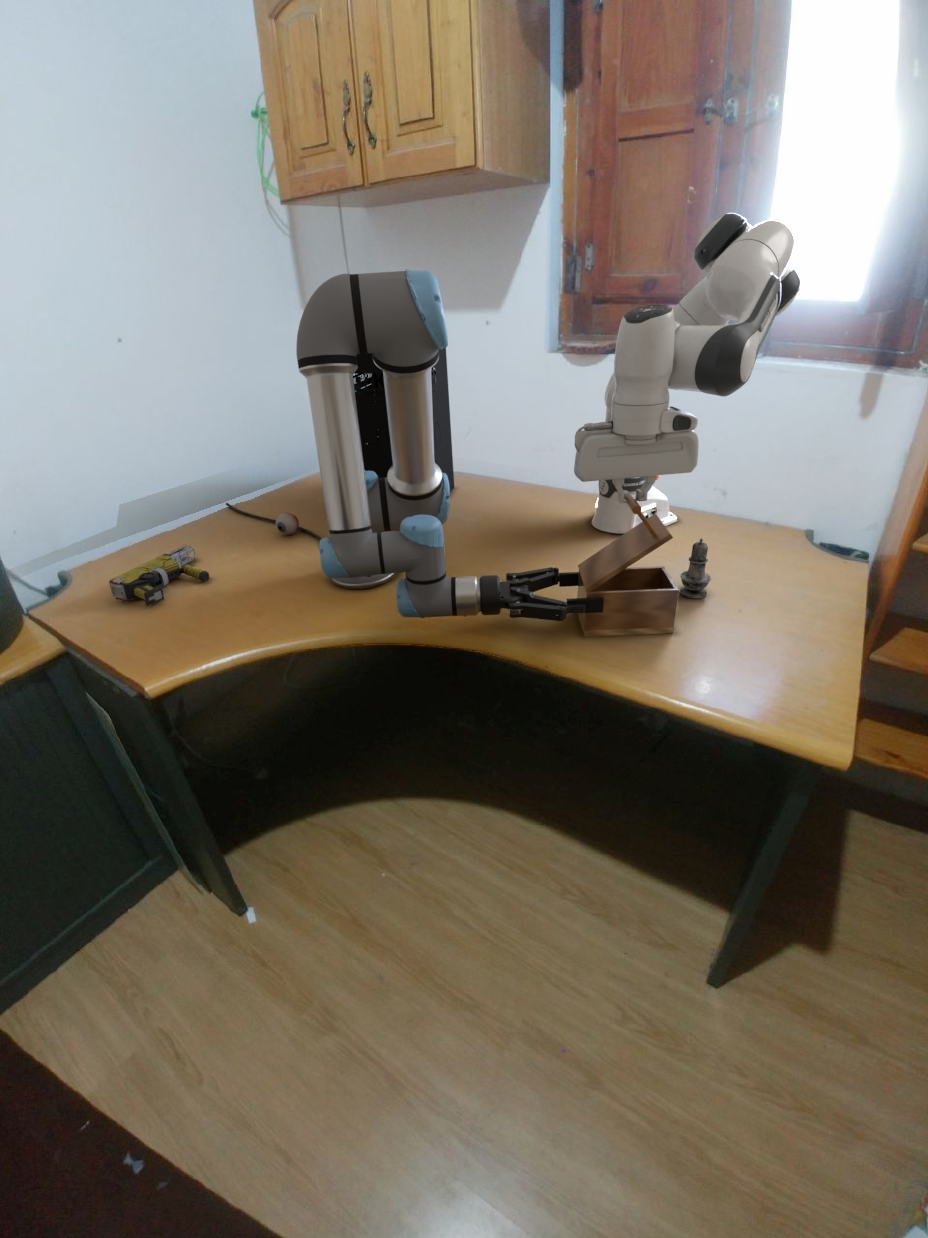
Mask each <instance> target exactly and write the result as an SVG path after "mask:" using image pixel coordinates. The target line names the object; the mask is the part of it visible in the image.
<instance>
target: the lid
mask: <svg viewBox="0 0 928 1238" xmlns="http://www.w3.org/2000/svg"><path fill="white" fill-rule="evenodd" d="M628 499H629V502H627V504H628V506H629V507H630V509H631V510H632V512H633V513H634V514H638V516H639V517H640V519H641V520H642V522H641V523H640V524H638V525H637V526H635V527H634V528H632V529H631V530H629V531H628V532H626V533H625V534H622V535H620V536H619V537H618V538H616V539H615V540H612V541H611V542H610V543H609V544H607V545H606V546H604V547H603V548H601V549H600V550H598V551H597V552H595V553H593V554H591V556H589V557H588V558H586V559H584V560H583V561H581V562H580V563H579V564H578V565H577V569H578V572H579V571H580V574H581V577H582V580H583V583H584V586H585V589H586V590H587V592H588V593H589V592H590V591H592V590H593V589H595V588H596V587H598V586H600V585H601V584H603V583H604V582H606V581H607V580H609V579H610V578H612V577H613V576H615V575H617V574H618V573H620V572H621V571H623V570H624V569H626V568H630V567H631V566H632V565H633V564H635V563H637V562H638V561H640V560H641V559H643V558H645V557H646V556H648V555H650V554H651V553H652V552H654V551H655V550H657V549H658V548H660V547H661V546H663V545H664V544H666V543H668V542H669V541H671V540H672V539H673V538H674V536H673V535H672V534H671V533H670V531H669V530H668V528H667V526H665V525H664V524H663V523H662V521H661V520H660V519H659V517H658V516H657V514H656V513H655V514H653V515H652V516H650V517H649V518H647V519H646V518H645V516H644V515H643V514H642V512H641V511H642V508H641V506H640V505H639V503H638V502H637V500H636V499H635V497H634V496H633V495H632V494H629V498H628Z"/></svg>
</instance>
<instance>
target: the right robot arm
mask: <svg viewBox="0 0 928 1238" xmlns="http://www.w3.org/2000/svg"><path fill="white" fill-rule="evenodd" d="M747 220H748V219H747V218H745V217H743V216H742V215H741V214H738V213H736V212H728V213H725V214H723V216H720V217H718V218H716V219H715V220H714V221H712V222H711V223H710V224H709V225H708V226H707V227H706V228H705V230H704V231H703V232H702V234H701V236H700V238H699V240H698V242H697V244H696V247H695V248H694V256H693V257H694V260H695V263H696V265H698V267H699V269H700V270H701V271H702V270H703V271H704V273H705V274H706V276H705V277H704V278H702V279H701V280H700V281H699V282H698V283H697V284H695V286H693V287H692V288H691V289H690V290H689V291H688V292H687V293H686V294H685V295H684V296H683V297H682V298H681V299H680V301H678V303H677V304H676V305H675V306H674V307H672V306H671V305H666V304H661V303H659V304H658V303H657V304H647V305H642V306H637V307H635V308H632V309H630V310H628V311H627V312H626V313H625V314H623V315H622V318H621V321H620V324H619V327H618V332H617V335H616V344H615V350H614V361H613V372H612V374H611V376H610V377H609V380H608V383H607V385H606V388H605V391H604V403H605V407H606V410H605V421H601V422H595V423H593V422H587V423H585V424H584V425H583V426H581V427H579V428H578V429H577V430H576V432H575V434H574V447H575V449H576V451H575V457H574V465H573V473H574V475H575V477H576V478H577V479H578V480H579V481H581V482H582V483H586V482H598V492H599V493H598V496H597V500H596V503H595V505H594V507H595V511H594V514H593V517H592V520H591V525H592V526H593V527H594V528H595V529H597V530H599V531H601V532H605V533H611V534H622V535H623V534H625V533H626V532H628V531H629V530H631V529H632V528H634V527H635V526H637V525H638V524H640V523H641V522H642V520H641V519H640V517H639V516H638V514H634V513H633V512H632V510H631V509H630V507H629V506H628V504H627V502H629V499H628V498H629V494H632V495H633V496H634V497H635V499H636V500H637V502H638V503H639V505H640V506H641V508H642V511H641V512H642V514H643V515H644V516H645V518H646V519H647V518H649V517H650V516H652V515H653V514H655V513H656V514H657V516H658V517H659V519H660V520H661V521H662V523H663V524H664V525H665V527H668V526H670V525H672V524H675V523H677V522H678V516H677V515H676V514H675V513H674V512H672V511H670V503H669V502H670V501H669V498H668V497H667V496H666V495H665V494H664V493H663V492H661V491H660V490H659V489H658V488H656V487H655V486H654V484H655V483H656V481H658V479H659V478H660V476H666V475H676V474H677V475H679V474H690V473H692V472H693V471H694V470H695V469H696V468H697V466H698V460H699V447H700V446H699V436H698V434H697V432H696V431H694V430H696V429H697V426H698V417H697V416H695V415H694V414H692V413H690V412H688V411H686V410H684V409H681V408H677V407H676V406H670V392H669V390H674V391H685V392H696V393H703V394H707V395H713V396H718V397H728V396H730V395H732V394H734V393H735V392H737V391H738V390H739V389H741V388H742V387H743V386H744V385H745V384H746V383H747V382H748V381H749V380H750V377H751V376H752V373H753V371H754V367H755V364H756V361H757V358H758V355H759V352H760V350H761V347H762V346H763V343H764V341H765V339H766V338H767V336H768V333H769V331H770V329H771V327H772V324H773V323H774V320H775V318H776V317H777V316H780V315H781V314H782V313H784V311H786V310H787V309H788V308H789V307H790V305H792V303H793V302H794V300H795V298H796V296H797V295H798V292H799V291H800V289H801V287H802V286H801V285H802V279H801V277H800V274H799V273H798V270H797V269H796V268H795V267H792V266H791V264H790V263H791V261H792V258H793V256H794V253H795V249H796V240H795V236H794V233H793V231H792V229H791V228H790V227H789V226H788V225H787V224H786V223H785V222H783V221H780V220H775V219H772V220H771V219H767V220H764V221H761V222H759V223H757V224H755V225H753V226H752V225H751V224H750V223H748V221H747ZM730 321H734V322H735V321H736V322H735V323H731V324H729V322H730Z"/></svg>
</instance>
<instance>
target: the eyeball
mask: <svg viewBox="0 0 928 1238" xmlns="http://www.w3.org/2000/svg"><path fill="white" fill-rule="evenodd" d="M275 520H276V523H275V527H276V529H277V530H278V531H279V532H280V533H281V534H282V535H285V536H286V535H287V536H289V535H293V534H295V533H296V532H297V531H298V530H299V529H298V527H300V526H299V525H300V522H299V519H298V517H297V516H296V515H295V514H294V513H292V512H287V511H286V512H282V513H280V514H279V515H278V516H277V517H276V519H275Z"/></svg>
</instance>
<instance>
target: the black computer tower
mask: <svg viewBox="0 0 928 1238" xmlns="http://www.w3.org/2000/svg"><path fill="white" fill-rule="evenodd" d="M356 357H357V365H358V369H357V370H356V371H355V373H354V374H353V383H354V391H355V399H356V407H357V415H358V423H359V431H360V439H361V447H362V455H363V463H364V470H365V471H374V472H375V473H376V475H377V476H378V478H387V475H388V471H389V469H390V468H391V466H392V465H393V459H392V450H391V441H390V432H389V423H388V414H387V405H386V395H385V386H384V377H383V370H381V369H380V368H378V367H377V366H376V365H375V363H374V361H373V358H372V353H369V354H357V355H356ZM447 357H448V356H447V347H446V348H443V349H442V350H440V349H439V359H438V361H437V363H436V364H435V365H434V366H433V367H432V368H431V382H432V409H433V436H434V463H436V464H437V465H438V466H439V468H440V469H441V472H442V473H445V474H446V475H447V477H448V480H449V488H450V494H451V493H452V491H454V489H455V474H454V472H455V471H454V457H453V443H452V442H453V441H452V440H453V439H452V425H451V408H450V394H449V392H450V391H449V378H448V377H449V376H448V375H449V374H448V358H447ZM397 531H400V530H397Z"/></svg>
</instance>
